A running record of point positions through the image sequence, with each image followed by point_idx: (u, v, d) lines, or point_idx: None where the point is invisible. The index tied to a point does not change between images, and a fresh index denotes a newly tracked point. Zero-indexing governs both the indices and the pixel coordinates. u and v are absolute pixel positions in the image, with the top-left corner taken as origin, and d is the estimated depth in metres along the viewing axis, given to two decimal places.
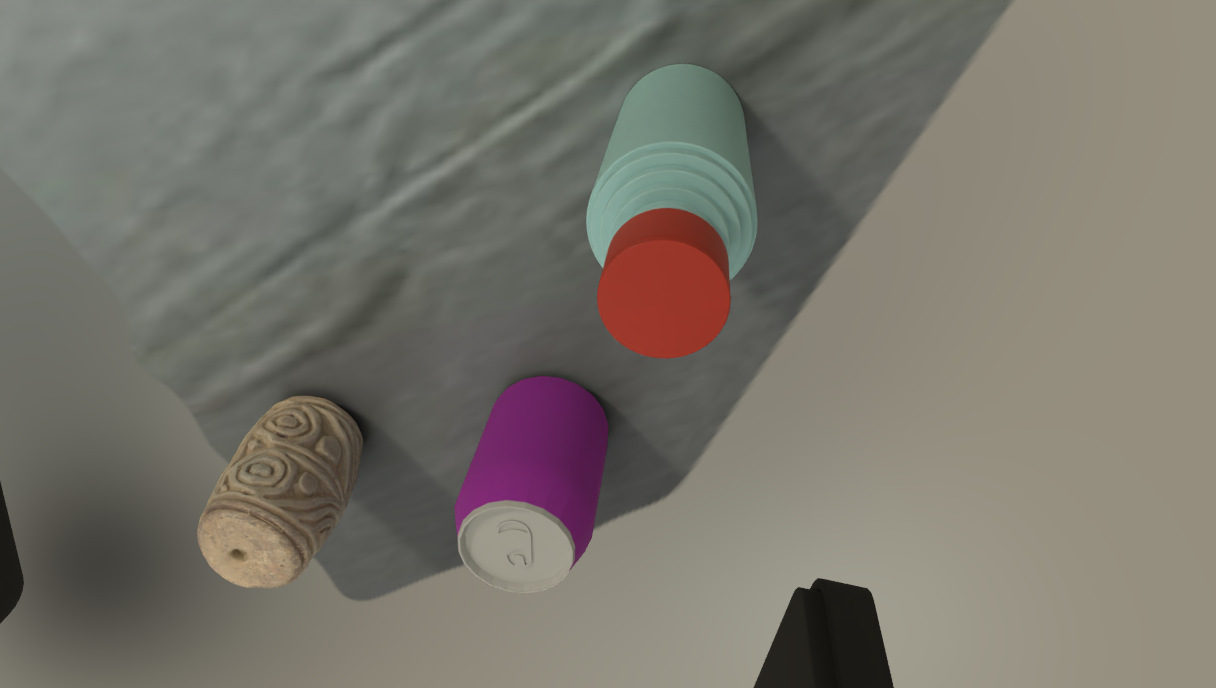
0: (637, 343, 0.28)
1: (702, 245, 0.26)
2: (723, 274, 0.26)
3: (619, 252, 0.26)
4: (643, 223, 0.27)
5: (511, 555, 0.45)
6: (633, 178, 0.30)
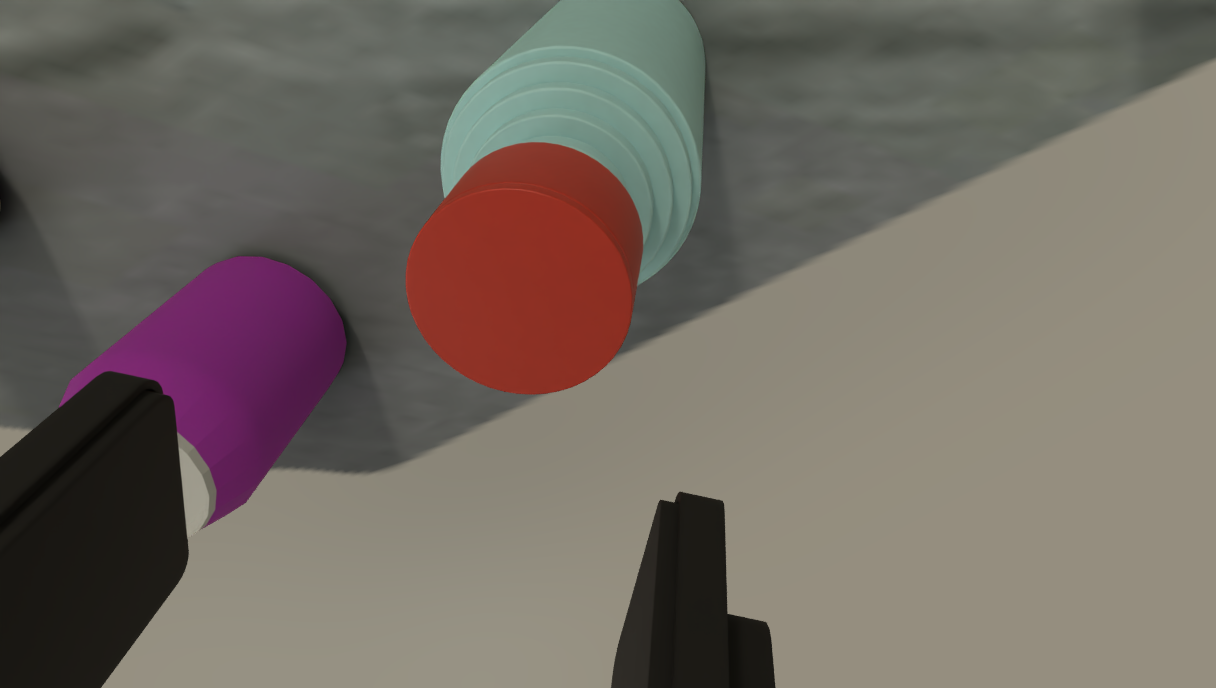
0: (442, 337, 0.16)
1: (624, 247, 0.15)
2: (631, 308, 0.15)
3: (492, 186, 0.15)
4: (548, 161, 0.16)
5: None
6: (558, 86, 0.19)
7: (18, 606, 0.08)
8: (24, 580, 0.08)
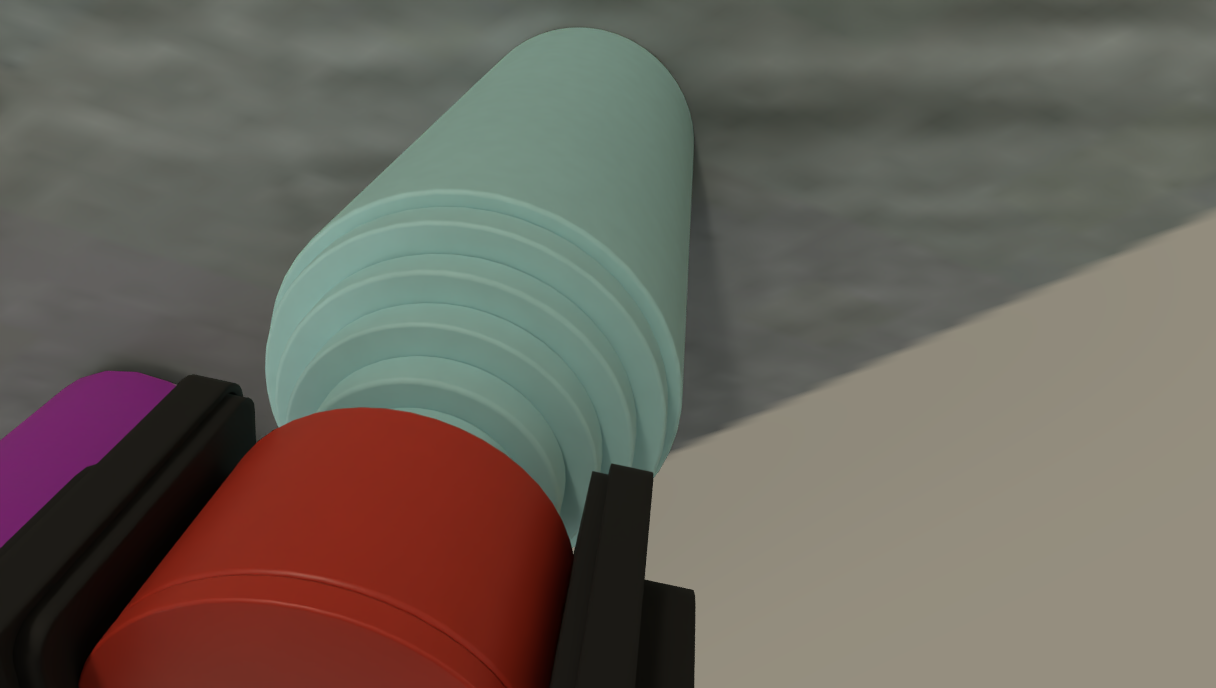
0: None
1: (516, 673, 0.08)
2: None
3: (222, 586, 0.07)
4: (372, 478, 0.08)
5: None
6: (436, 266, 0.11)
7: (123, 604, 0.08)
8: (129, 579, 0.08)
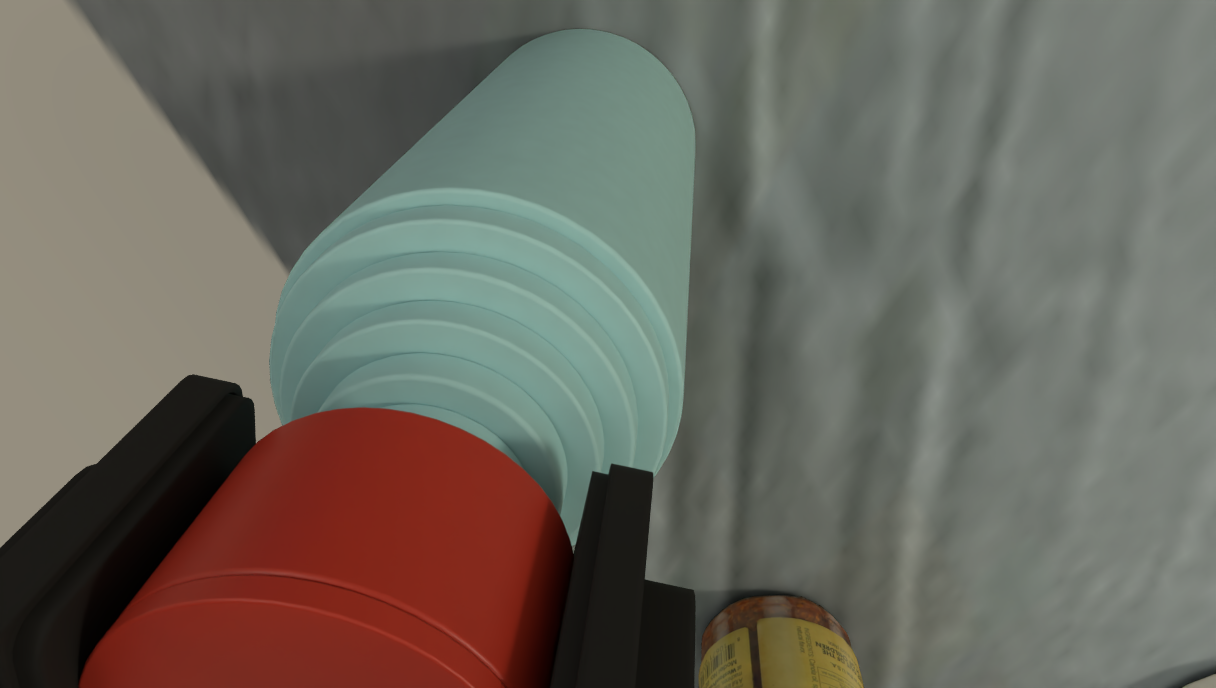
0: None
1: (517, 674, 0.08)
2: None
3: (222, 586, 0.07)
4: (372, 479, 0.08)
5: None
6: (635, 445, 0.12)
7: (123, 604, 0.08)
8: (129, 579, 0.08)
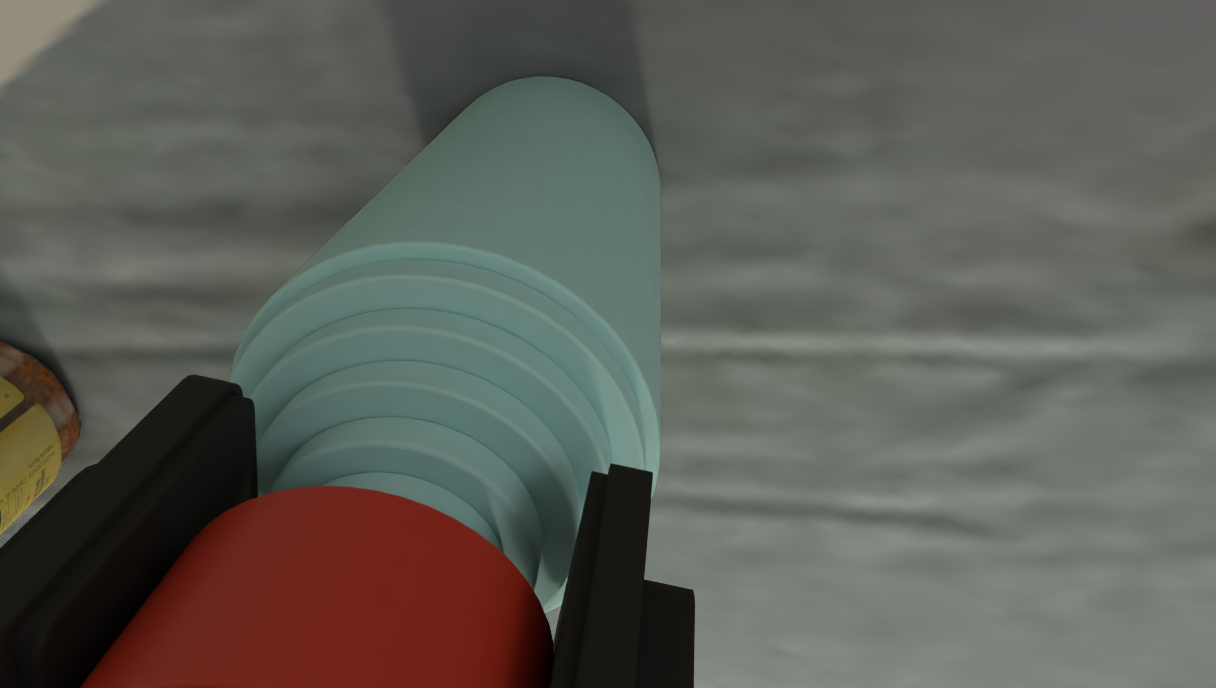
0: None
1: None
2: None
3: None
4: (332, 568, 0.07)
5: None
6: None
7: (123, 604, 0.08)
8: (129, 579, 0.08)
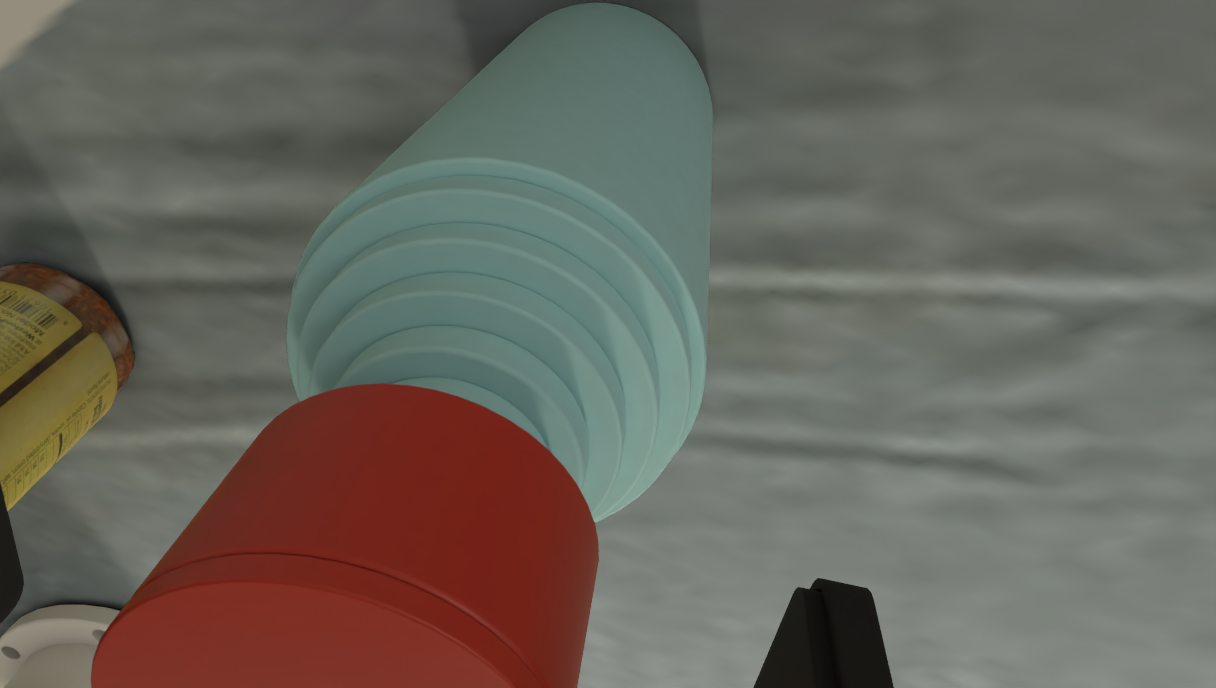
0: None
1: (544, 659, 0.07)
2: None
3: (242, 564, 0.07)
4: (396, 456, 0.08)
5: None
6: None
7: None
8: None
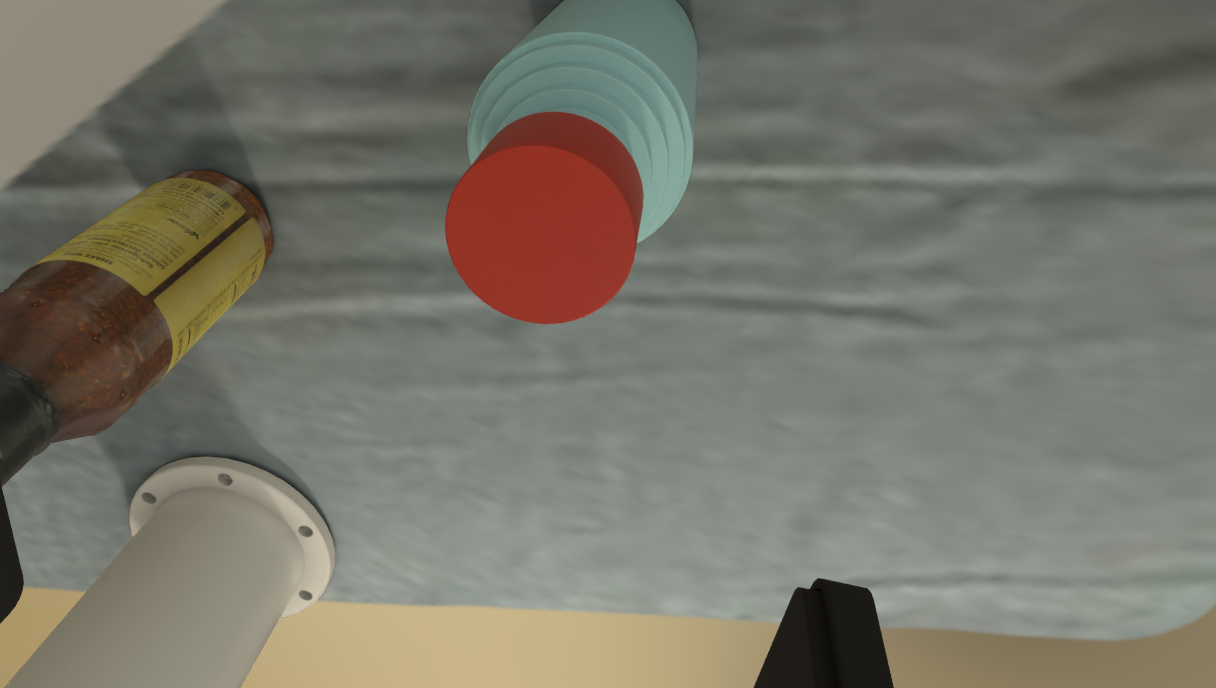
0: (474, 274, 0.19)
1: (628, 197, 0.18)
2: (634, 248, 0.18)
3: (520, 143, 0.18)
4: (565, 126, 0.19)
5: None
6: None
7: None
8: None
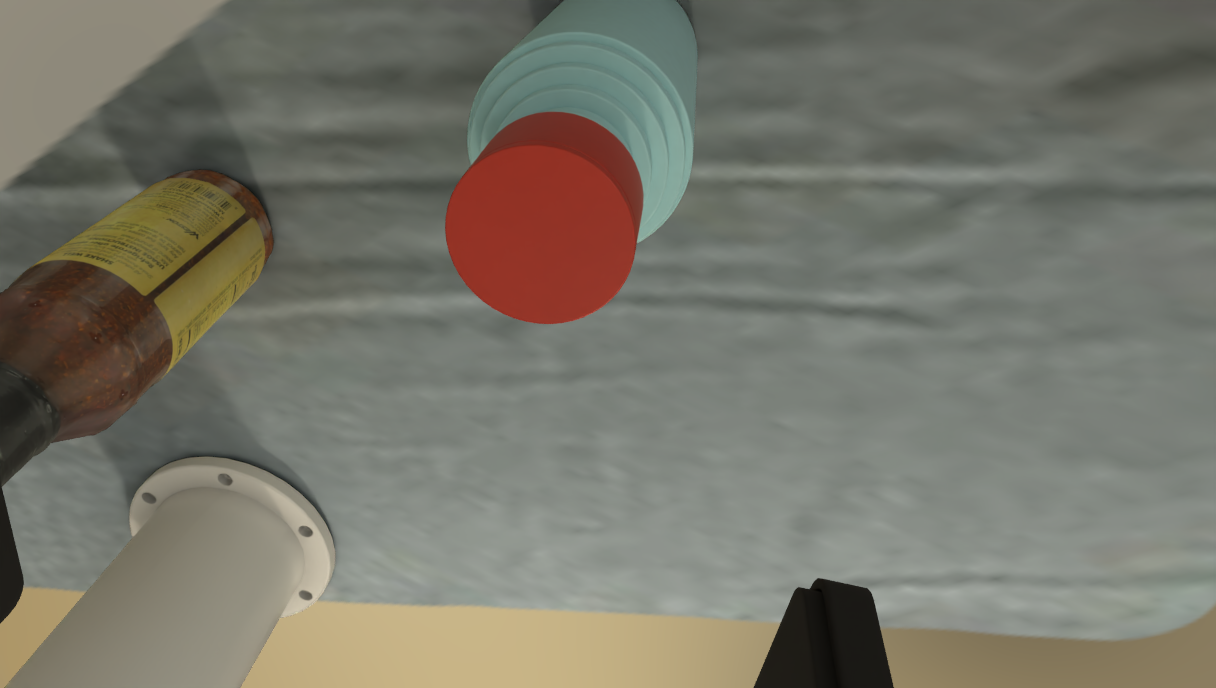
0: (474, 274, 0.19)
1: (628, 197, 0.18)
2: (634, 248, 0.18)
3: (520, 143, 0.18)
4: (565, 126, 0.19)
5: None
6: None
7: None
8: None
